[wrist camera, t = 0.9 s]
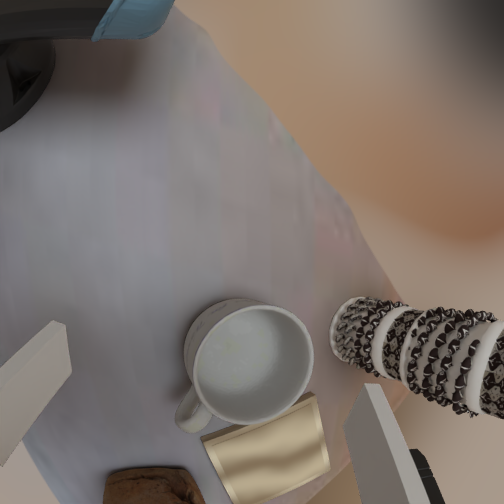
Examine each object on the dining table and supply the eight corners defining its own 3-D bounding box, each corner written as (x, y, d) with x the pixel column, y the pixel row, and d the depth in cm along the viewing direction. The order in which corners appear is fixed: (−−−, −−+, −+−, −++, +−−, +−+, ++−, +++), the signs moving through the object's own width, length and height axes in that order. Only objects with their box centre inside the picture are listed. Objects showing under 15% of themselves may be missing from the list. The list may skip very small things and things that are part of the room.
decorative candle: (347, 378, 36) (517, 454, 13) (312, 329, 35) (520, 398, 11) (390, 330, 39) (558, 367, 16) (363, 278, 37) (559, 293, 14)
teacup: (248, 273, 32) (282, 278, 25) (294, 354, 34) (334, 377, 26) (131, 347, 28) (129, 377, 20) (191, 424, 30) (208, 466, 22)
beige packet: (200, 437, 30) (202, 443, 29) (310, 391, 35) (315, 395, 33) (235, 507, 31) (238, 513, 30) (326, 465, 36) (331, 470, 34)
